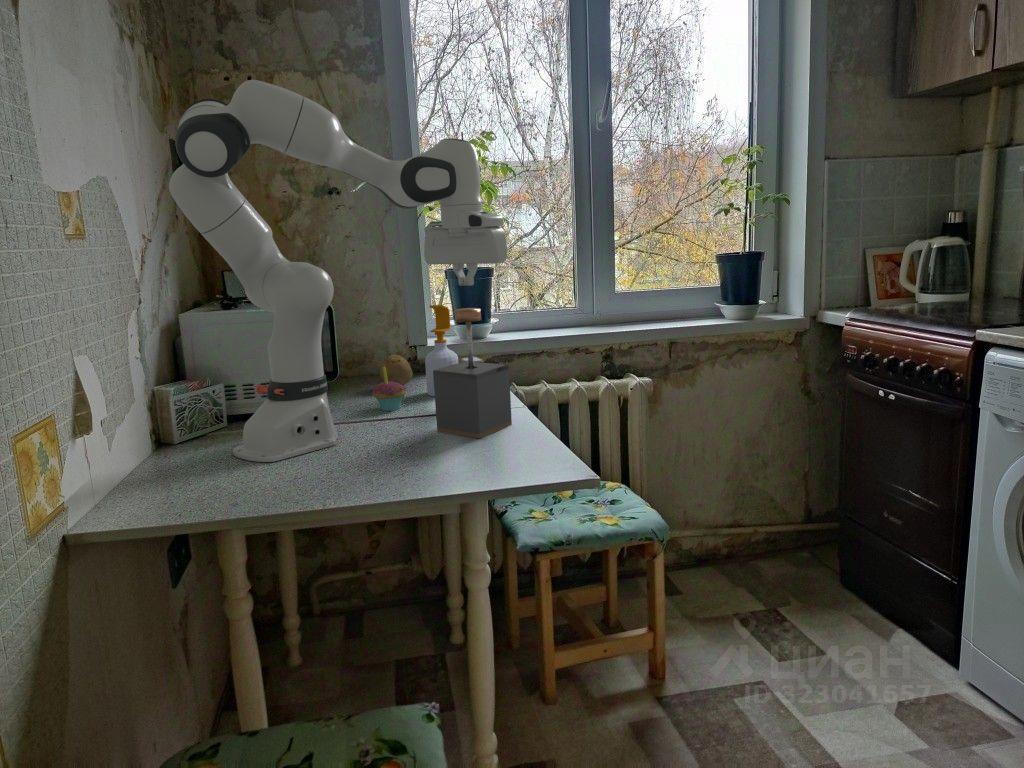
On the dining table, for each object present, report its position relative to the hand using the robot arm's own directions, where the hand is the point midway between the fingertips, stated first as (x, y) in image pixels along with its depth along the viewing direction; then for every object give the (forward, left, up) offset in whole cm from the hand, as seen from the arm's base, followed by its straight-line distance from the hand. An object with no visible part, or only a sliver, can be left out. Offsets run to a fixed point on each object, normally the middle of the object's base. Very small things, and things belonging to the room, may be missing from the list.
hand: (466, 285), depth 152 cm
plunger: (0, 0, -20) cm, 20 cm away
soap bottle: (+24, +29, -32) cm, 50 cm away
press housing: (0, 0, -32) cm, 32 cm away
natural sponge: (+23, +46, -32) cm, 61 cm away
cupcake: (+5, +31, -32) cm, 45 cm away
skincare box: (+17, +13, -32) cm, 39 cm away
